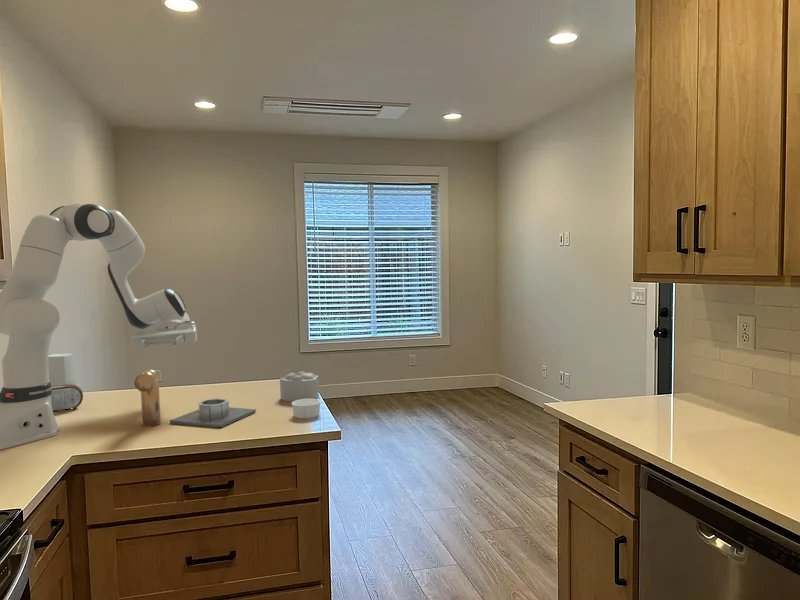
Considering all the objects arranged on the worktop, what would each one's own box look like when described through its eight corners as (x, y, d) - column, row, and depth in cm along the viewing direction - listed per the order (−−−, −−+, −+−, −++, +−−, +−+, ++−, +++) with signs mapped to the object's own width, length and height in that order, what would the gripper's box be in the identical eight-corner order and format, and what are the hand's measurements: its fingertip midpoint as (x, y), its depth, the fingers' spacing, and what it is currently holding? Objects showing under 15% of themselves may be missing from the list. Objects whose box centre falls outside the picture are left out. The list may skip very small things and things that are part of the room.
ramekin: (315, 420, 176) (314, 405, 176) (287, 419, 178) (287, 405, 178) (324, 412, 185) (324, 398, 185) (298, 411, 187) (297, 398, 187)
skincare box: (78, 394, 217) (75, 353, 216) (66, 399, 211) (63, 356, 210) (56, 394, 218) (54, 353, 217) (44, 399, 212) (41, 356, 211)
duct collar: (220, 428, 169) (220, 411, 169) (170, 423, 175) (169, 407, 175) (255, 412, 186) (255, 396, 186) (208, 408, 192) (207, 393, 192)
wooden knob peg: (144, 422, 177) (142, 368, 176) (162, 421, 178) (159, 367, 177) (136, 431, 168) (133, 374, 167) (155, 430, 169) (152, 373, 167)
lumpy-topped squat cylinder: (315, 401, 199) (314, 376, 199) (277, 402, 200) (276, 377, 199) (320, 394, 210) (319, 370, 209) (284, 395, 210) (283, 371, 209)
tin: (83, 406, 199) (82, 382, 199) (84, 408, 197) (82, 383, 196) (31, 413, 191) (29, 388, 191) (31, 415, 189) (29, 389, 188)
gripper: (136, 326, 198) (123, 337, 184) (199, 320, 200) (190, 331, 187) (139, 344, 199) (126, 356, 186) (201, 338, 202) (193, 350, 188)
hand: (159, 343), depth 186 cm, fingers open, 8 cm apart
